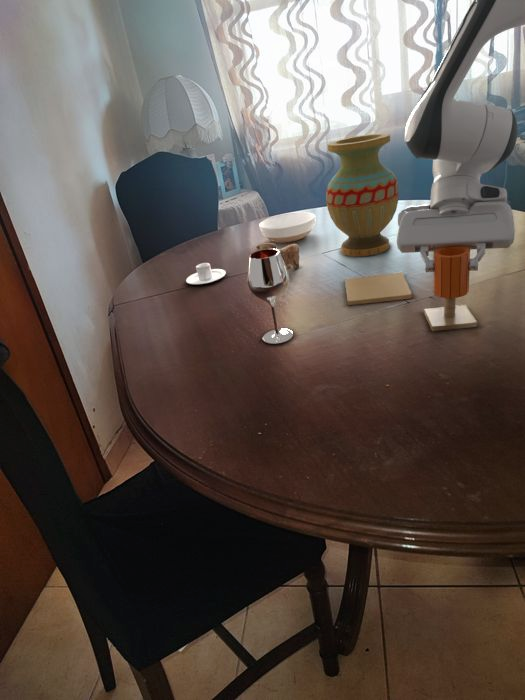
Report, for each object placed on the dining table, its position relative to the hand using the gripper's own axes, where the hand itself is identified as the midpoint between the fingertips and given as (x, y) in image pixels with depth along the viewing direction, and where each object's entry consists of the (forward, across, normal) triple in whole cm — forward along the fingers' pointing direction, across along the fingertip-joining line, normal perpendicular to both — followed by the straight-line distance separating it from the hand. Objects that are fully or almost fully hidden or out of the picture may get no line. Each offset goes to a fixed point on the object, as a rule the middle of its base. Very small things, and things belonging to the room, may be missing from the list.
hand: (451, 270), depth 85 cm
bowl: (-37, -55, +51) cm, 84 cm away
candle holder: (-11, -68, +25) cm, 74 cm away
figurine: (-13, -45, +27) cm, 55 cm away
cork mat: (-4, -17, +18) cm, 25 cm away
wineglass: (+13, -33, +1) cm, 36 cm away
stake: (+7, 0, +8) cm, 10 cm away
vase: (-25, -26, +40) cm, 54 cm away
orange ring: (+3, 0, +4) cm, 5 cm away
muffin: (-17, -5, +32) cm, 37 cm away
